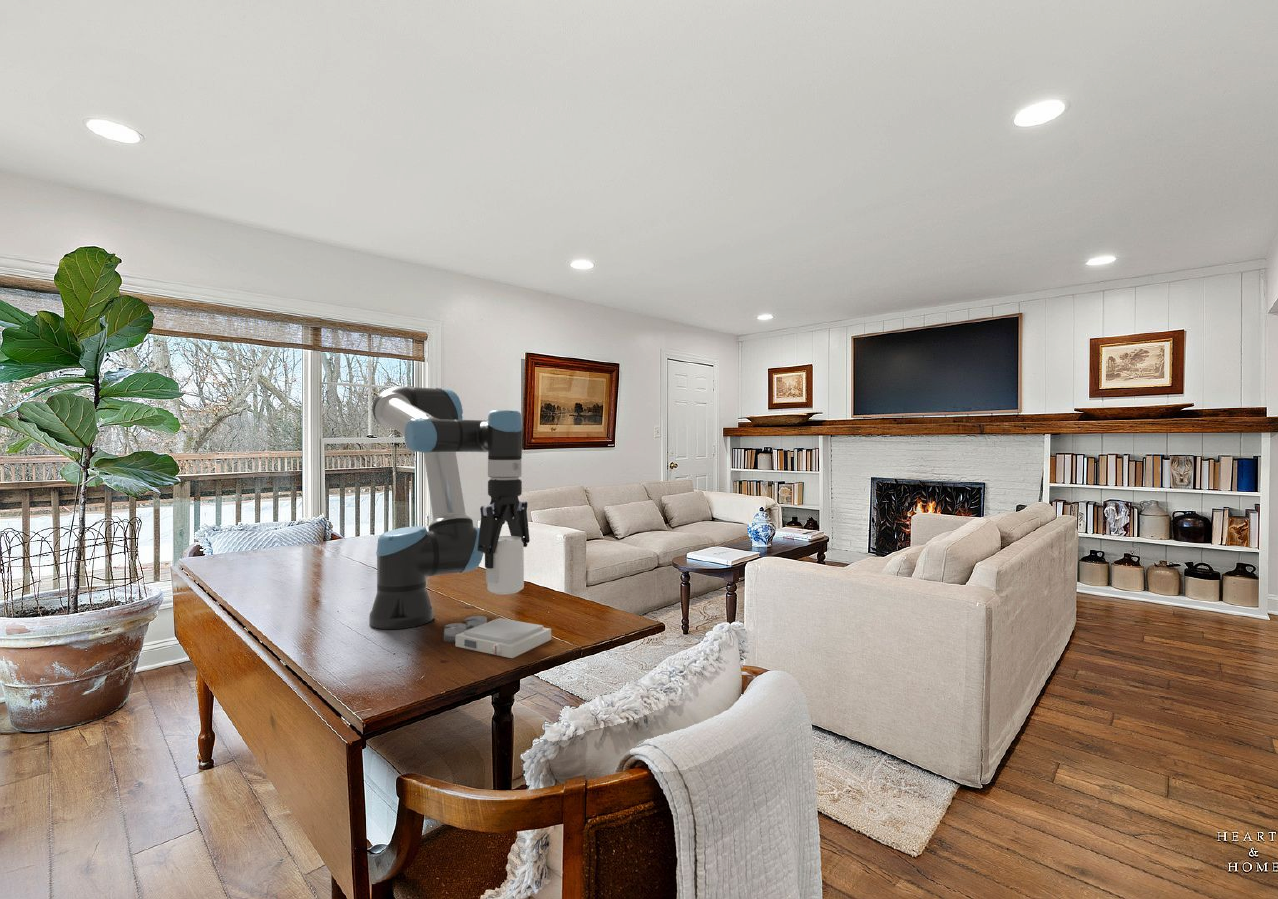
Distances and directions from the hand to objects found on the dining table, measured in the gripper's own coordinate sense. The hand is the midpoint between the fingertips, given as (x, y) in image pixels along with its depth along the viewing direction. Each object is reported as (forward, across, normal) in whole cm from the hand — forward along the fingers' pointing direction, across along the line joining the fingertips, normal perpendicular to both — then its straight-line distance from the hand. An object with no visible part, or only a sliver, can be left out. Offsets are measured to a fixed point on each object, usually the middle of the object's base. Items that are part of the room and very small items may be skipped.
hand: (504, 578), depth 138 cm
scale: (+15, 0, 0) cm, 15 cm away
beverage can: (+3, 0, 0) cm, 3 cm away
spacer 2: (+15, +4, +12) cm, 19 cm away
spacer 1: (+15, -3, +12) cm, 19 cm away
